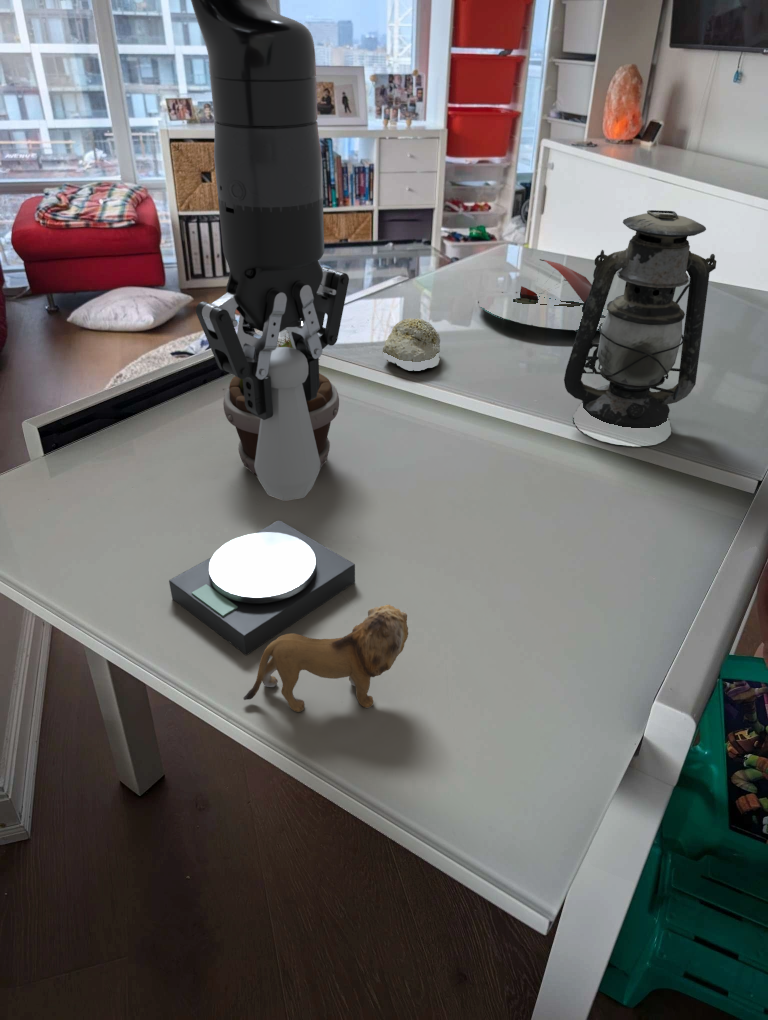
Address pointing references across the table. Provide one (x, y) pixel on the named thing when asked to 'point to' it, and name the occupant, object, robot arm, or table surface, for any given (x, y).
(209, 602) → the scale
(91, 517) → the table surface
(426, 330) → the decorative item
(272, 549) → the scale pan
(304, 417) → the salt shaker
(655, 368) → the lantern
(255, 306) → the robot arm
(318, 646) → the lion figurine
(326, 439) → the flowerpot
